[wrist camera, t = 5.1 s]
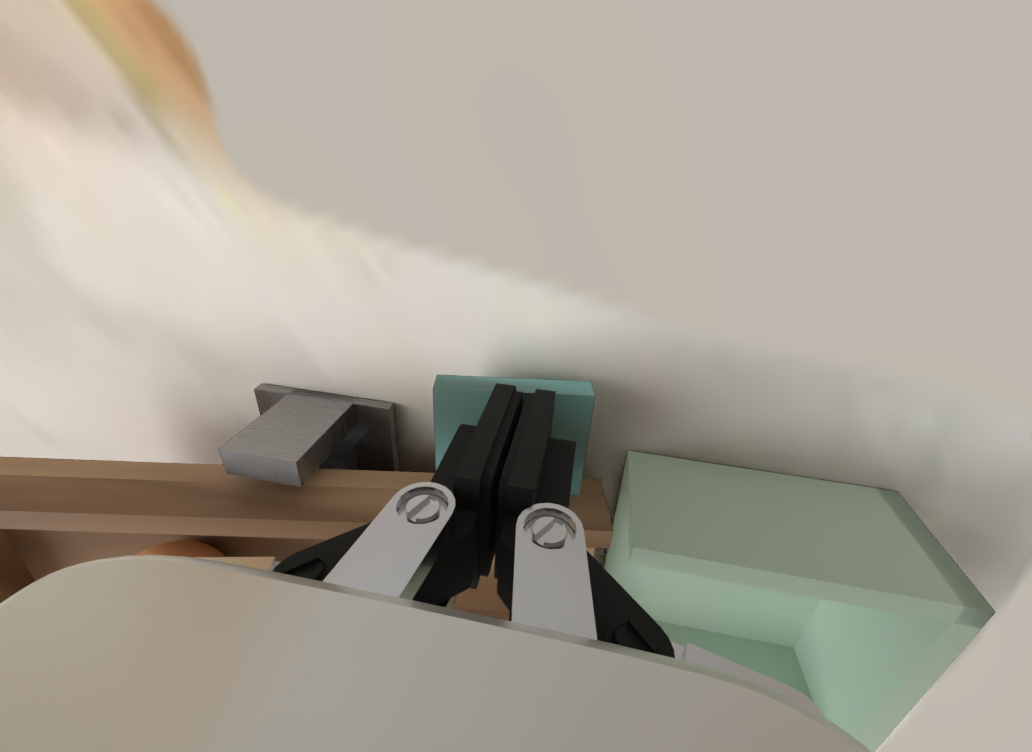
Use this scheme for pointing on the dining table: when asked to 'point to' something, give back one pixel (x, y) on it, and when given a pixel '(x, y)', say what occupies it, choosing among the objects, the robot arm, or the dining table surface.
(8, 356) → the dining table surface
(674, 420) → the dining table surface
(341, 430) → the fulcrum
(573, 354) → the dining table surface
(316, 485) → the lever
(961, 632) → the tray
